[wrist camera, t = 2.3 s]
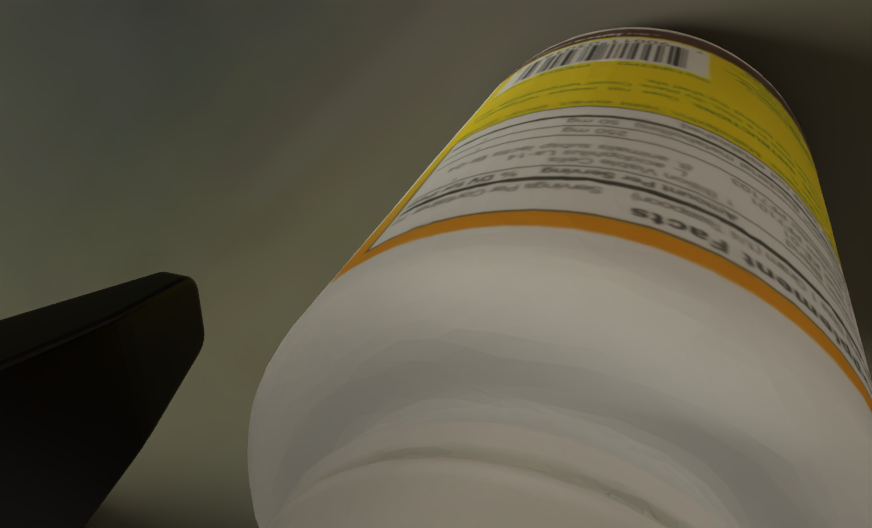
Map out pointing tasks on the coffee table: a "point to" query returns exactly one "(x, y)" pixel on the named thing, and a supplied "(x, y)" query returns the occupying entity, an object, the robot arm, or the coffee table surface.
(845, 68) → the coffee table surface
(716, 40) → the coffee table surface
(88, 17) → the coffee table surface
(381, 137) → the coffee table surface
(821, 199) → the supplement bottle
